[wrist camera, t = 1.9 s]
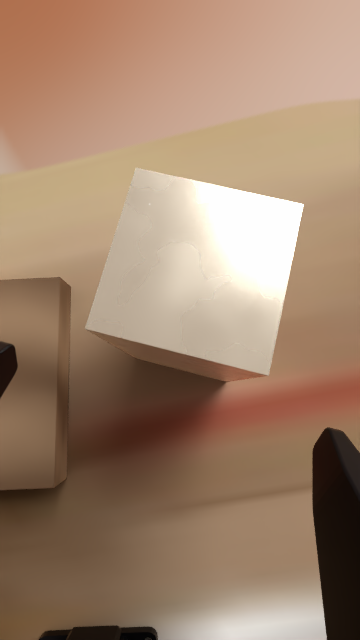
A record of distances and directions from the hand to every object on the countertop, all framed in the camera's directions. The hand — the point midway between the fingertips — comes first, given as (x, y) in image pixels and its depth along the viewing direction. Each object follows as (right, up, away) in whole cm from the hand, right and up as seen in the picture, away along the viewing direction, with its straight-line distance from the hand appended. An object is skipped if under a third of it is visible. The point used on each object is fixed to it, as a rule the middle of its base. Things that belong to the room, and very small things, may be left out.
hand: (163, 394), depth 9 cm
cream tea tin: (+1, +2, +12) cm, 13 cm away
